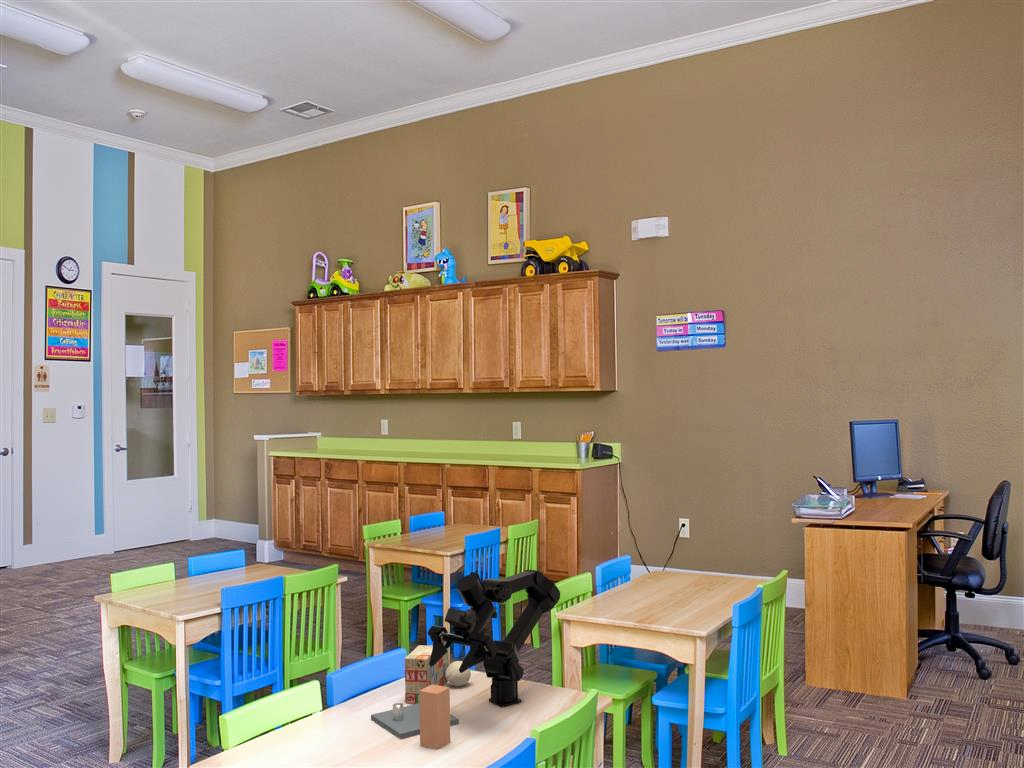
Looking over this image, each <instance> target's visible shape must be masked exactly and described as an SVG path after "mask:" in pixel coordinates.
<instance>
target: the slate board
mask: <svg viewBox="0 0 1024 768" xmlns="http://www.w3.org/2000/svg"><path fill="white" fill-rule="evenodd" d="M403 713H404V719H403V720H401V721H394V720H393V709H389V710H385V711H382V712H377V713H373V714H370V720H371V721H372V722H373V723H376V724H377V725H379V726H380V727H381V728H383V729H385V731H388V732H389V733H391V734H392V735H394V736H396V737H397V738H398V739H400V740H402V739H406V738H407V739H408V738H410V737H414V736H417V735H420V703H418V704H408V705H406V706H403ZM459 724H460V718H458V717H457V716H455V715H453V714H451V713H450V727H452V726H454V725H459Z"/></svg>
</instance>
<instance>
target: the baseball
mask: <svg viewBox="0 0 1024 768" xmlns="http://www.w3.org/2000/svg"><path fill="white" fill-rule="evenodd" d="M462 662H463V660H456V661H453V662H451V663H449V666H448V668H447V670H446V672H445V677H446V680H447V681H448V682H447V683H449V684H450V685H452V686H453V687H463V686H465V685H467V684H468V682H470V680H471V675H472V673H471V672H472V671H471V668H469V669H467V670H466V671H464V672H462V673H460V672H459V668H460V666H461V664H462Z"/></svg>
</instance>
